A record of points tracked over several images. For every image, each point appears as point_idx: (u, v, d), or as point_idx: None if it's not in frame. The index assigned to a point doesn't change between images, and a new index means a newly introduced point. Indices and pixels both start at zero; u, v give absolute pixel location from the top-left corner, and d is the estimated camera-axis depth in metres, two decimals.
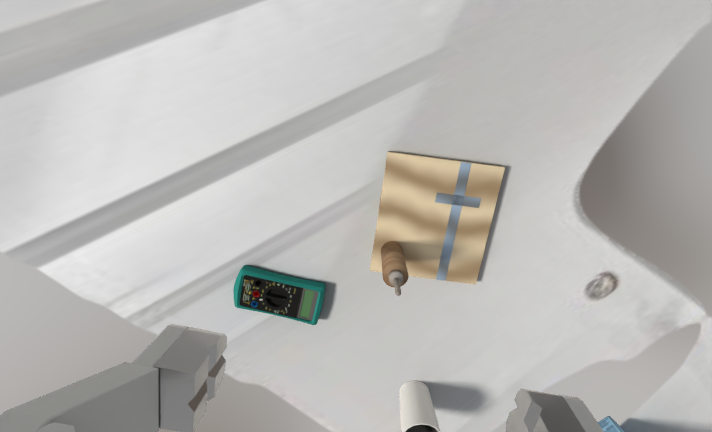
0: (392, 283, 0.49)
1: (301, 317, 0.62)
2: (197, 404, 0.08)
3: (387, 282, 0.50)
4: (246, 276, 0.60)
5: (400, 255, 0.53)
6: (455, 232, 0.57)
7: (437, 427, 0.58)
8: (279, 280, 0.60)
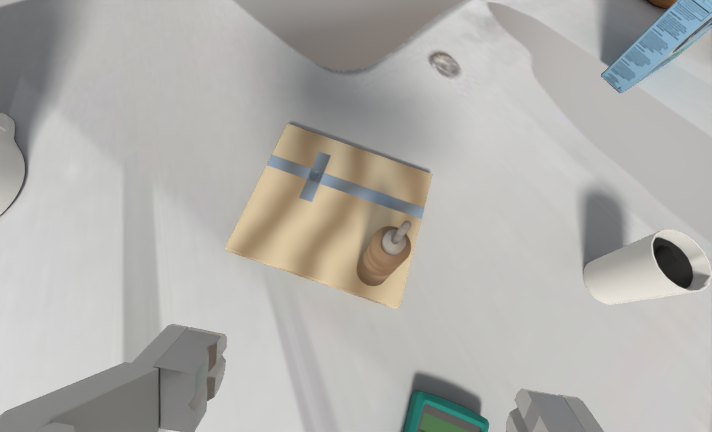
0: (400, 247, 0.30)
1: None
2: (197, 404, 0.08)
3: (401, 259, 0.31)
4: None
5: None
6: (358, 186, 0.44)
7: (654, 234, 0.37)
8: None
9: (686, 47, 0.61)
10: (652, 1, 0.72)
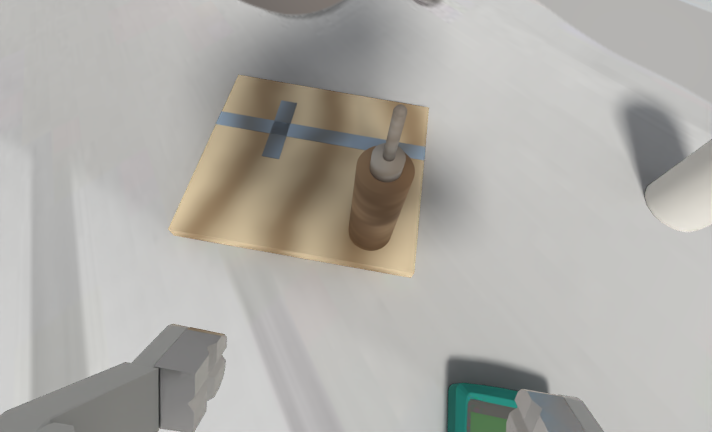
0: (398, 164, 0.20)
1: None
2: (197, 404, 0.08)
3: (402, 185, 0.21)
4: None
5: None
6: (336, 133, 0.34)
7: None
8: None
9: None
10: None
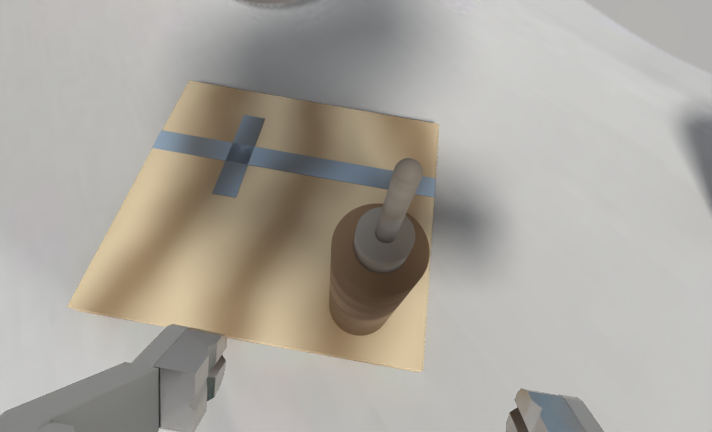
0: (403, 248, 0.12)
1: None
2: (197, 404, 0.08)
3: (409, 277, 0.12)
4: None
5: None
6: (316, 159, 0.25)
7: None
8: None
9: None
10: None
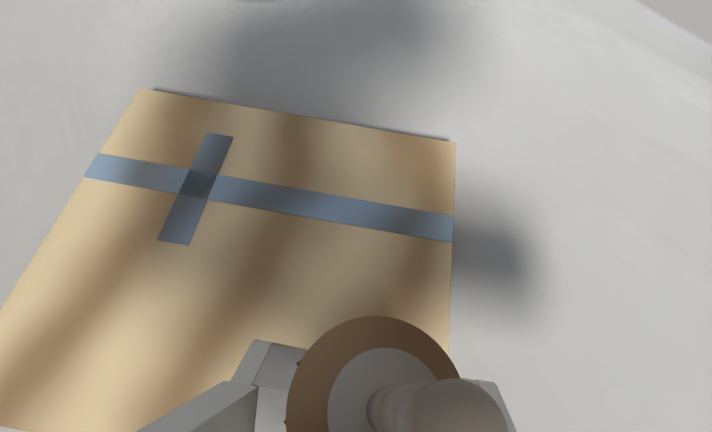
0: None
1: None
2: None
3: None
4: None
5: None
6: (298, 191, 0.19)
7: None
8: None
9: None
10: None
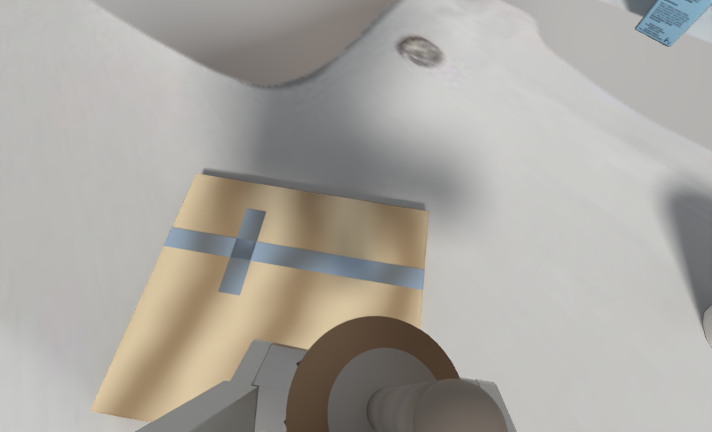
0: None
1: None
2: None
3: None
4: None
5: None
6: (313, 253, 0.27)
7: None
8: None
9: None
10: None
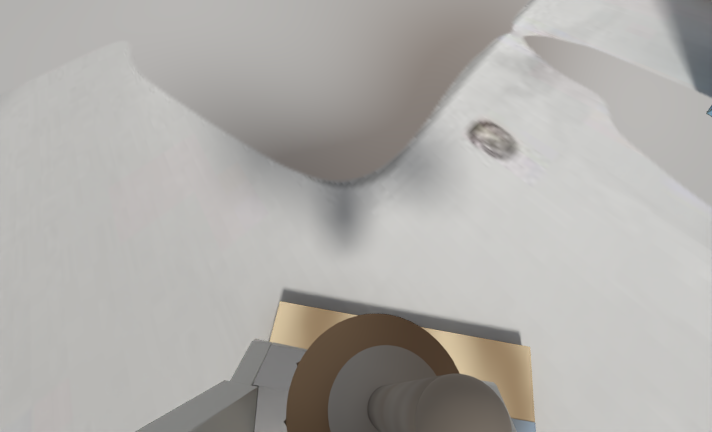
0: None
1: None
2: None
3: None
4: None
5: None
6: None
7: None
8: None
9: None
10: None
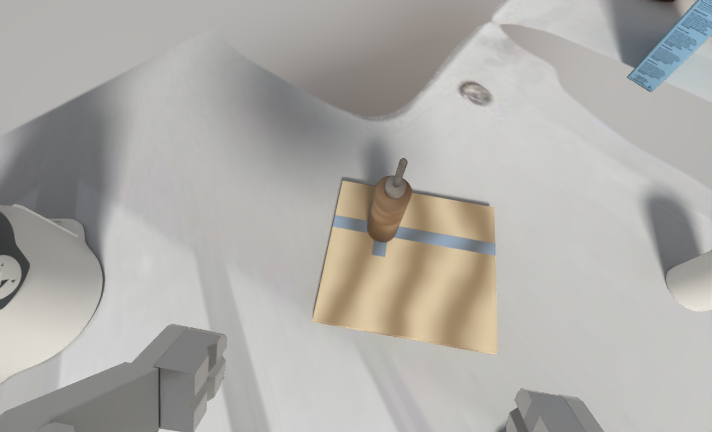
0: (402, 189, 0.34)
1: None
2: (197, 404, 0.08)
3: (404, 201, 0.35)
4: None
5: None
6: (425, 232, 0.43)
7: None
8: None
9: None
10: None
